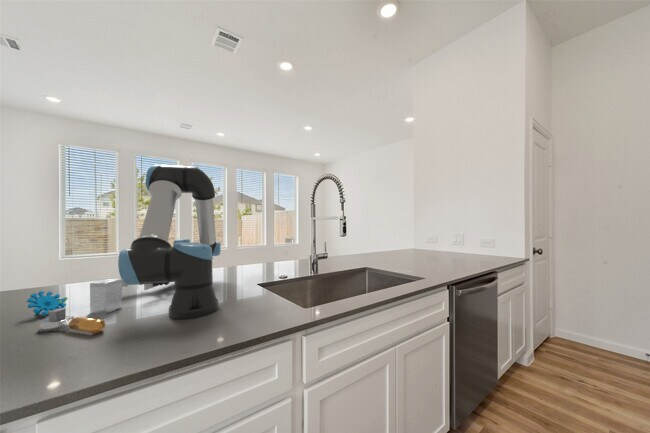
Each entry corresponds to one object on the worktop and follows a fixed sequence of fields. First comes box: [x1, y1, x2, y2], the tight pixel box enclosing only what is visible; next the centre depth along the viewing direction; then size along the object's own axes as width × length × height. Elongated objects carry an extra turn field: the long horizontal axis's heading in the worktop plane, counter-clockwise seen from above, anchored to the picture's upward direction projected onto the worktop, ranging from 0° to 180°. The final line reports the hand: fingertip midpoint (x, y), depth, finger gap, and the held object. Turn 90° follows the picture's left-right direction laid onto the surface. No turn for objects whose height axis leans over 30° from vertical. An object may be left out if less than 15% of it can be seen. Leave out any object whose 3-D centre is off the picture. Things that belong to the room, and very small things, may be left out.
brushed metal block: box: [89, 278, 123, 314], centre depth 90 cm, size 6×6×10 cm
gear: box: [26, 290, 69, 316], centre depth 87 cm, size 11×6×10 cm
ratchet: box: [39, 308, 107, 336], centre depth 74 cm, size 22×7×5 cm, turn 74°
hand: (128, 286), depth 99 cm, fingers open, 13 cm apart
